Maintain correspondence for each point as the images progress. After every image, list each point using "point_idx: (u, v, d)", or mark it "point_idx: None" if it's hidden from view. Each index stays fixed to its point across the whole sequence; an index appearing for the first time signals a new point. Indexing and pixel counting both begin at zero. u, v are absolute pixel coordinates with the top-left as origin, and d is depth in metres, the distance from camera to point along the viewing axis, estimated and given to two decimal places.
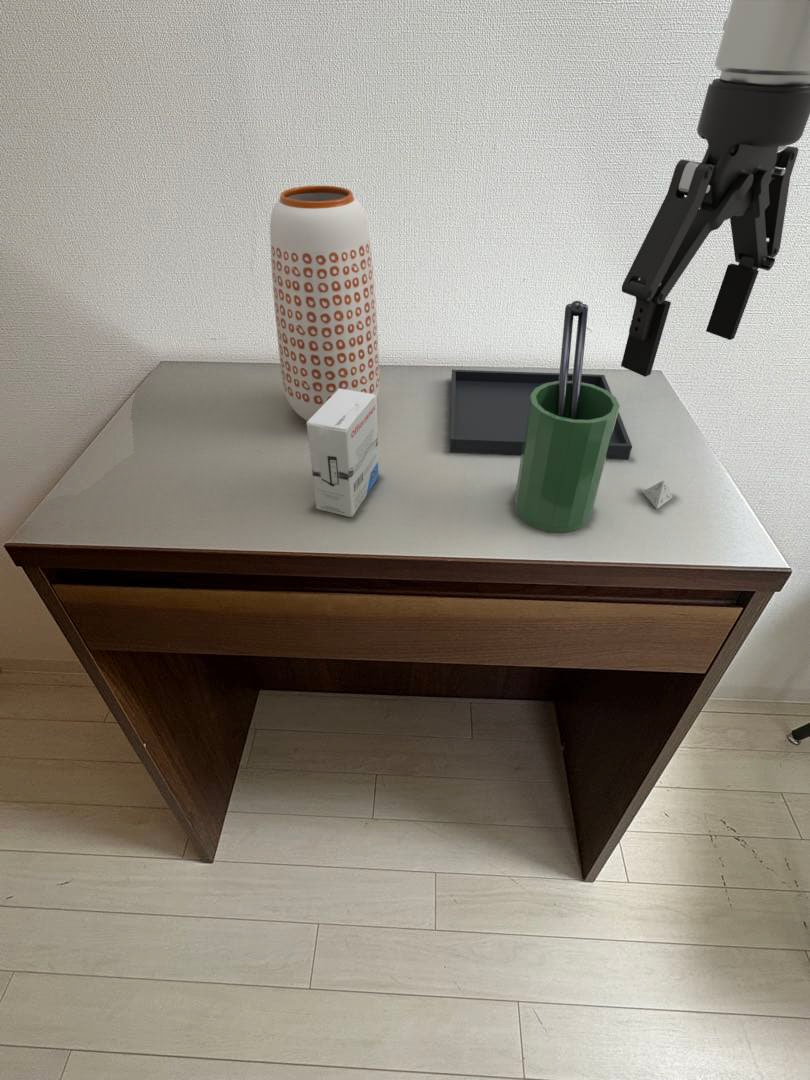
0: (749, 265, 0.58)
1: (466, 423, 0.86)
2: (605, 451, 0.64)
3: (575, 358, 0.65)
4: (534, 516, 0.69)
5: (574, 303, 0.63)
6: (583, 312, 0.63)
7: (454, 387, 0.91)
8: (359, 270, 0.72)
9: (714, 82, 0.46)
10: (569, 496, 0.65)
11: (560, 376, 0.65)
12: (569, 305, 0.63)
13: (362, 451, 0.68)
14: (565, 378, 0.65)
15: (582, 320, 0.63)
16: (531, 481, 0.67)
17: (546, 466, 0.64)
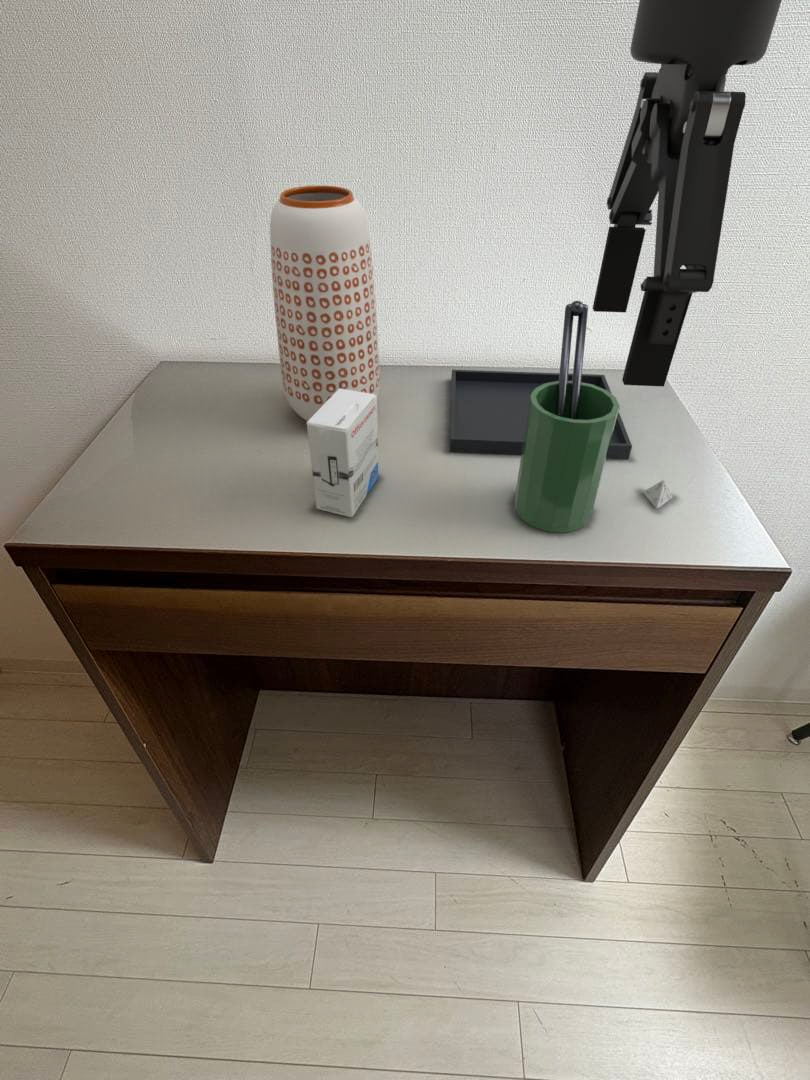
0: (631, 224, 0.49)
1: (466, 423, 0.86)
2: (605, 451, 0.64)
3: (575, 358, 0.65)
4: (534, 516, 0.69)
5: (574, 303, 0.63)
6: (583, 312, 0.63)
7: (454, 387, 0.91)
8: (359, 270, 0.72)
9: None
10: (569, 496, 0.65)
11: (560, 376, 0.65)
12: (569, 305, 0.63)
13: (362, 451, 0.68)
14: (565, 378, 0.65)
15: (582, 320, 0.63)
16: (531, 481, 0.67)
17: (546, 466, 0.64)
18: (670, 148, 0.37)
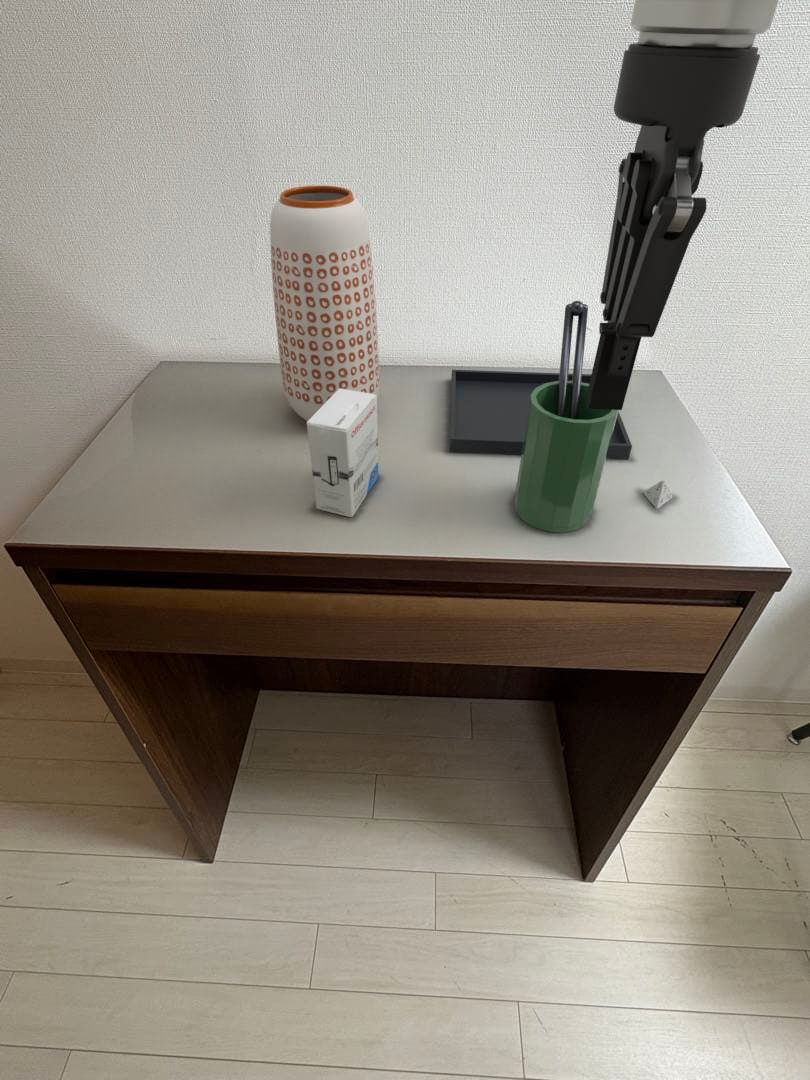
0: None
1: (466, 423, 0.86)
2: (605, 451, 0.64)
3: (575, 358, 0.65)
4: (534, 516, 0.69)
5: (574, 303, 0.63)
6: (583, 312, 0.63)
7: (454, 387, 0.91)
8: (359, 270, 0.72)
9: (661, 49, 0.34)
10: (569, 496, 0.65)
11: (560, 376, 0.65)
12: (569, 305, 0.63)
13: (362, 451, 0.68)
14: (565, 378, 0.65)
15: (582, 320, 0.63)
16: (531, 481, 0.67)
17: (546, 466, 0.64)
18: (651, 203, 0.39)
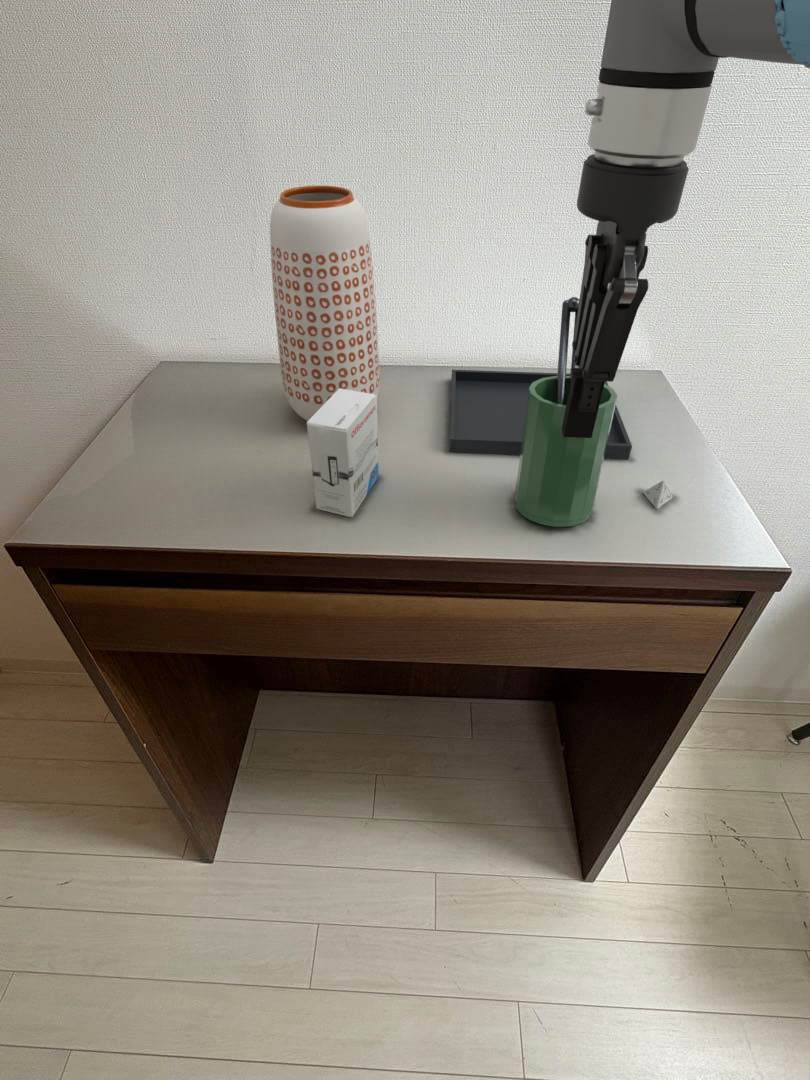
0: None
1: (466, 423, 0.86)
2: (604, 441, 0.64)
3: (573, 352, 0.66)
4: (535, 510, 0.68)
5: (571, 299, 0.65)
6: None
7: (454, 387, 0.91)
8: (359, 270, 0.72)
9: (610, 167, 0.44)
10: (570, 487, 0.65)
11: (558, 370, 0.66)
12: (566, 301, 0.65)
13: (362, 451, 0.68)
14: (563, 372, 0.66)
15: None
16: (531, 473, 0.67)
17: (546, 456, 0.64)
18: (607, 278, 0.48)
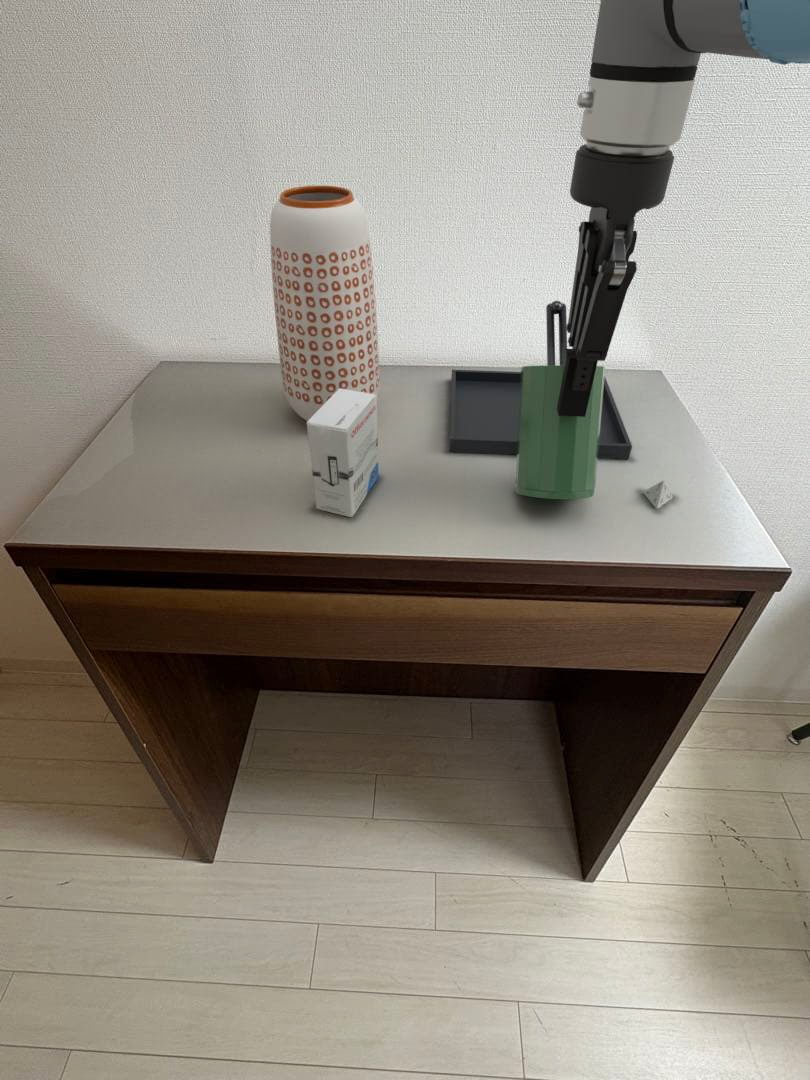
0: None
1: (466, 423, 0.86)
2: (598, 407, 0.66)
3: (560, 344, 0.71)
4: (536, 484, 0.68)
5: None
6: (562, 308, 0.72)
7: (454, 387, 0.91)
8: (359, 270, 0.72)
9: (600, 156, 0.47)
10: (569, 452, 0.66)
11: (548, 359, 0.71)
12: (549, 304, 0.72)
13: (362, 451, 0.68)
14: (553, 360, 0.71)
15: (562, 314, 0.72)
16: (530, 445, 0.67)
17: (543, 420, 0.66)
18: (599, 262, 0.52)
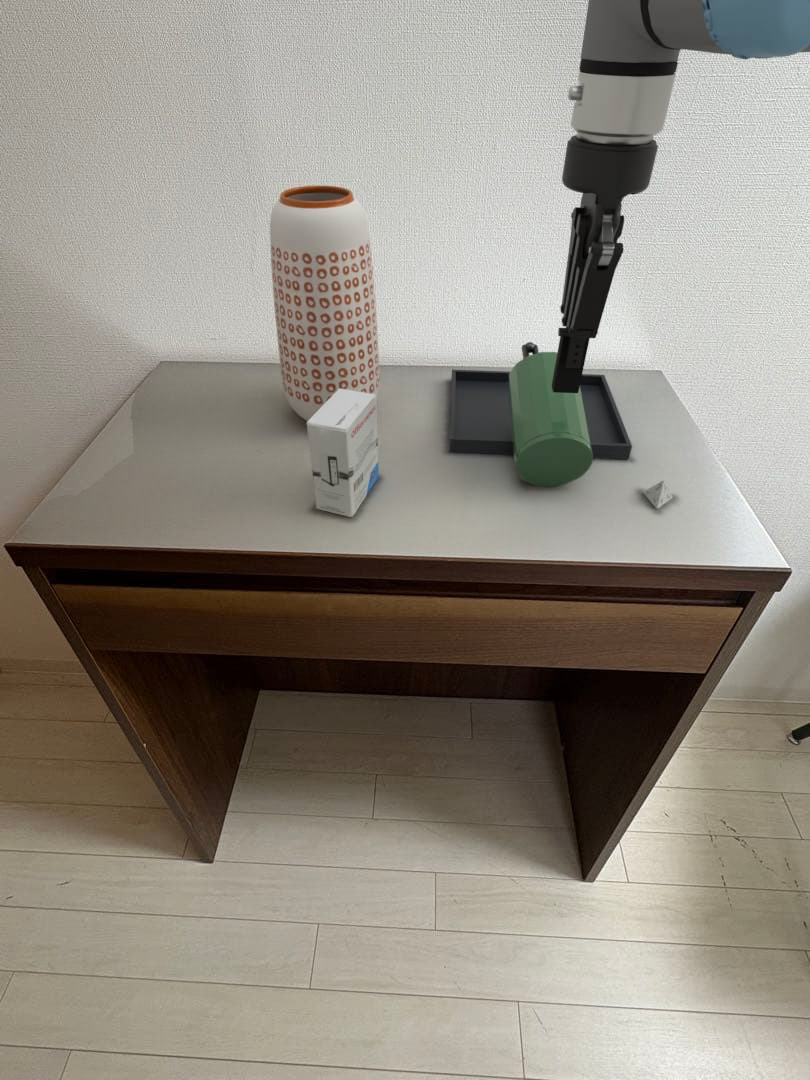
0: None
1: (466, 423, 0.86)
2: None
3: None
4: (534, 433, 0.70)
5: None
6: (534, 347, 0.87)
7: (454, 387, 0.91)
8: (359, 270, 0.72)
9: (589, 145, 0.51)
10: (560, 404, 0.71)
11: None
12: (524, 344, 0.88)
13: (362, 451, 0.68)
14: None
15: (535, 350, 0.87)
16: (522, 411, 0.73)
17: (531, 388, 0.73)
18: (589, 244, 0.55)
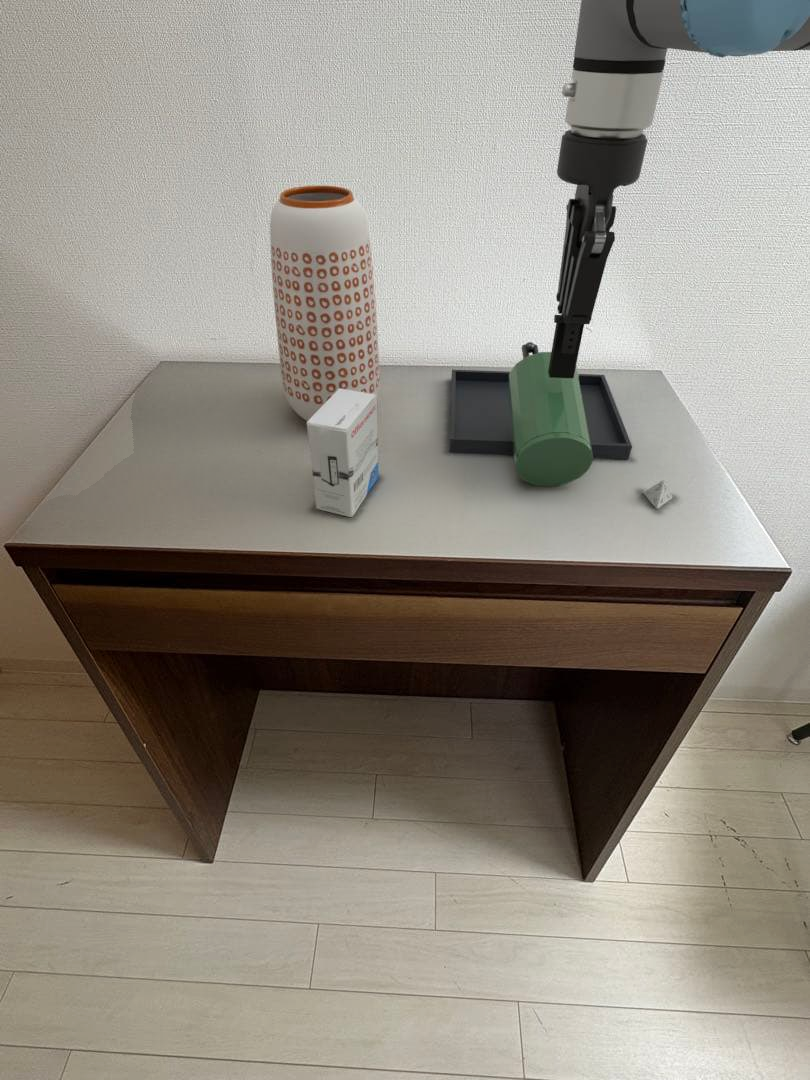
0: None
1: (466, 423, 0.86)
2: (578, 387, 0.75)
3: None
4: (534, 433, 0.70)
5: None
6: (534, 347, 0.87)
7: (454, 387, 0.91)
8: (359, 270, 0.72)
9: (582, 139, 0.54)
10: (560, 404, 0.71)
11: None
12: (524, 344, 0.88)
13: (362, 451, 0.68)
14: None
15: (535, 350, 0.87)
16: (522, 411, 0.73)
17: (531, 388, 0.73)
18: (582, 233, 0.58)
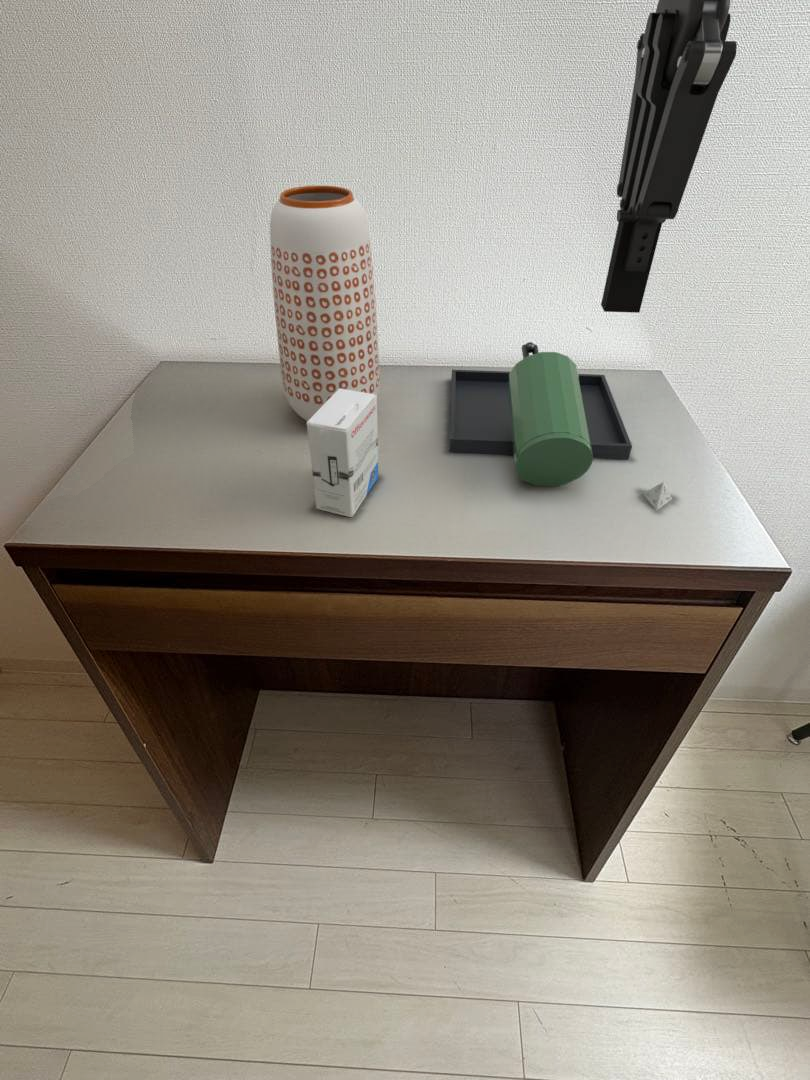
0: None
1: (466, 423, 0.86)
2: (578, 387, 0.75)
3: None
4: (534, 433, 0.70)
5: None
6: (534, 347, 0.87)
7: (454, 387, 0.91)
8: (359, 270, 0.72)
9: None
10: (560, 404, 0.71)
11: None
12: (524, 344, 0.88)
13: (362, 451, 0.68)
14: None
15: (535, 350, 0.87)
16: (522, 411, 0.73)
17: (531, 388, 0.73)
18: (675, 59, 0.36)
